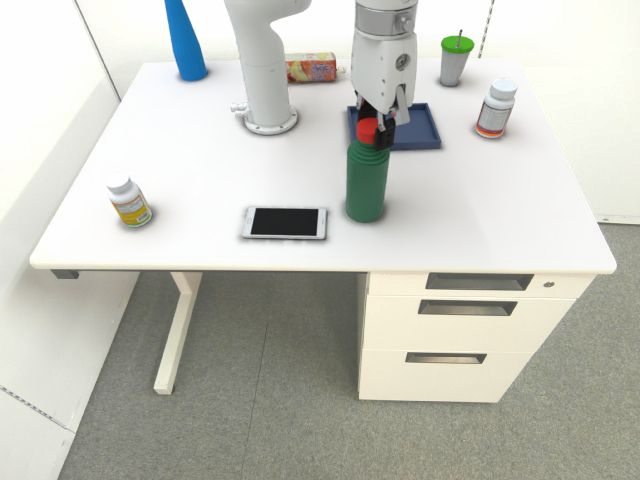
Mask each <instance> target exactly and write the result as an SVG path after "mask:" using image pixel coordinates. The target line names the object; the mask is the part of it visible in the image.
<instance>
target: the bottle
mask: <svg viewBox="0 0 640 480" xmlns="http://www.w3.org/2000/svg"><path fill="white" fill-rule="evenodd" d="M163 1H164V7H165V13H166V19H167V25H168V30H169V37H170V42H171V49H172V54H173V56H174V59H175V63H176V66H177V69H178V72H179V73H178V74H179V75H180V79H182V80H183V81H185V82H195V81H200V80H202V79H204V78H206V76H207V75H208V71H207V66H206V62H205V59H204V55H203V51H202V47H201V44H200V42H199V39H198V37H197V34H196V32H195V29H194V27H193V24H192V21H191V20H190V17H189V14H188V12H187V9H186V7H185V4H184V2H183V0H163Z"/></svg>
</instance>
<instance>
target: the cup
mask: <svg viewBox="0 0 640 480" xmlns="http://www.w3.org/2000/svg"><path fill="white" fill-rule="evenodd" d="M462 34H463V29H459V32H458V35H449V36H445V37H444V38H442V40H441V42H440V47H441V58H440V59H441V60H440V75H439V83H440V85H442V86H444V87H448V88H453V87H456V86H458V84H459V82H460V79H461V77H462V74H463V72H464V69H465V67H466V65H467V62H468V59H469V57H470V54H471V52H472V51H473V50H474V48H475V46H476V45H475V42H474V40H473V39H471V38H469V37H467V36H462Z"/></svg>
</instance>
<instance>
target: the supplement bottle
mask: <svg viewBox="0 0 640 480" xmlns="http://www.w3.org/2000/svg"><path fill="white" fill-rule="evenodd" d="M105 186H106V187H107V189H108V192H107V196H108V199H109V201H110V203H111V204H112V206H113V208H114V210H115V211H116V213H117V214H118V216H119V218H120V219H121V221H122V222H123V224H124V225H125V226H126V227H129V228H138V227H142V226H144V225H146V224H147V223H148V222H150V220H151V218H152V215H153V213H152V209H151V207H150V206H149V202H148V201H147V199H146V197H145V195H144V194H143V191H142V190H141V188H140V186H139V184H138V183H137V182H135V181H133V180H132V179H131V177H130V175H129V174H128V173H127V172H124V171H120V172H119V171H118V172H115V173H112V174H110V175H109V176H108V177H107V178H106V179H105Z"/></svg>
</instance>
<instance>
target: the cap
mask: <svg viewBox="0 0 640 480" xmlns="http://www.w3.org/2000/svg"><path fill="white" fill-rule="evenodd" d="M377 127H378V119H376V118H364V119H362V120H360V121H359V122H358V124H357V138H358V139H359V140H360V141H361V142H363V143H368V144H373V143H374V139H375V129H376V128H377Z"/></svg>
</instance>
